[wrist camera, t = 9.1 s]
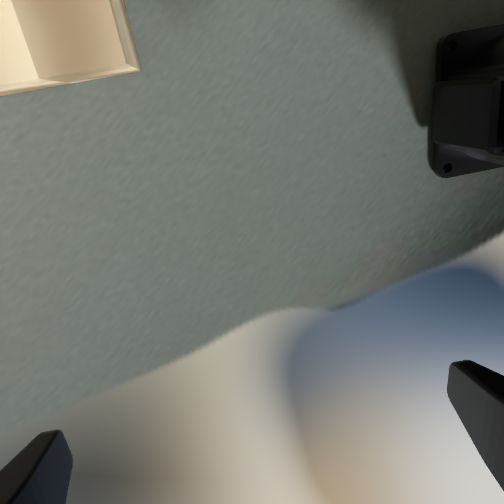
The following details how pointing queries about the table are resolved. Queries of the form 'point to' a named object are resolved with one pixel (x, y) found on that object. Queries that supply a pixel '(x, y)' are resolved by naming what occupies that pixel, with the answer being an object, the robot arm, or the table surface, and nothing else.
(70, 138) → the table surface
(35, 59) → the socket block
